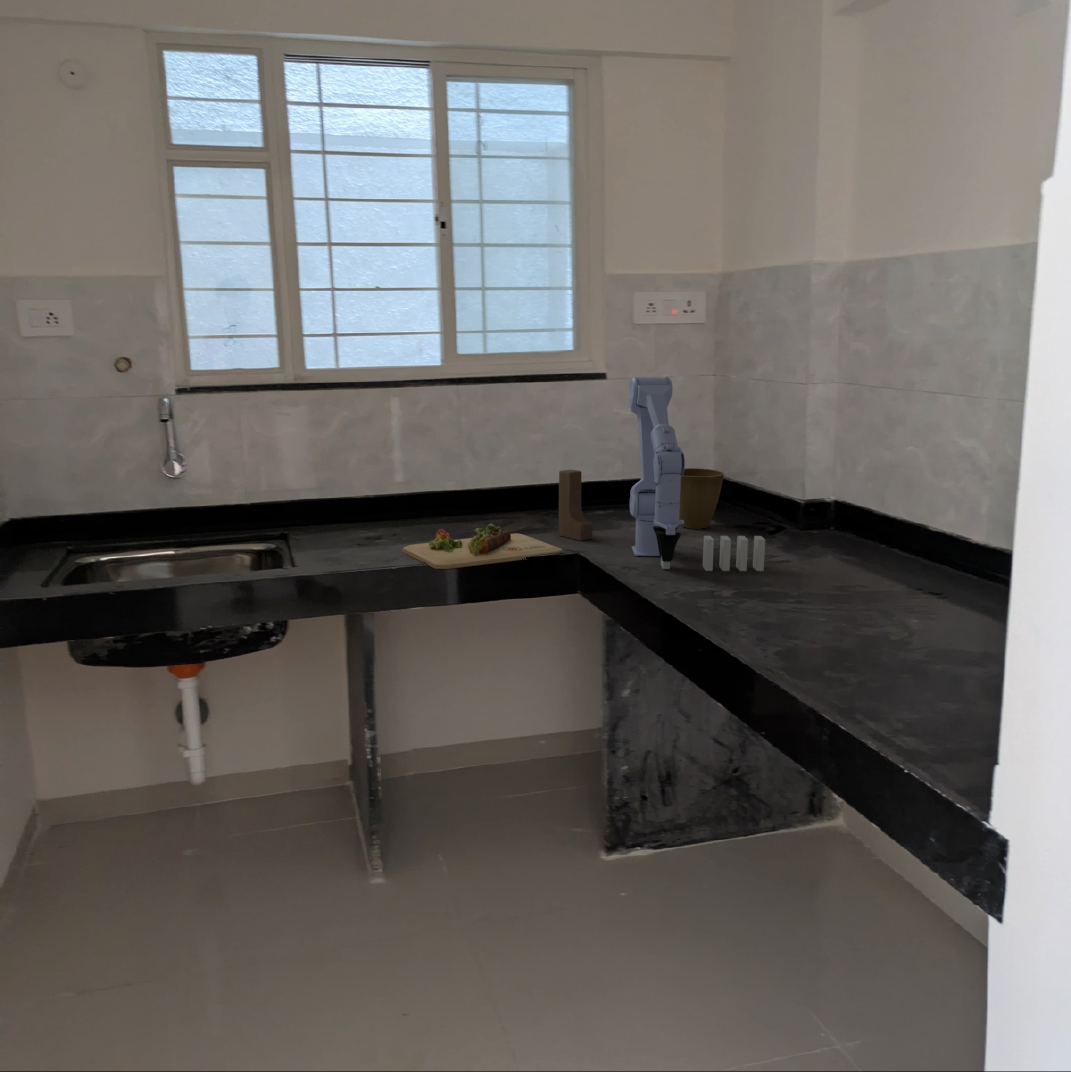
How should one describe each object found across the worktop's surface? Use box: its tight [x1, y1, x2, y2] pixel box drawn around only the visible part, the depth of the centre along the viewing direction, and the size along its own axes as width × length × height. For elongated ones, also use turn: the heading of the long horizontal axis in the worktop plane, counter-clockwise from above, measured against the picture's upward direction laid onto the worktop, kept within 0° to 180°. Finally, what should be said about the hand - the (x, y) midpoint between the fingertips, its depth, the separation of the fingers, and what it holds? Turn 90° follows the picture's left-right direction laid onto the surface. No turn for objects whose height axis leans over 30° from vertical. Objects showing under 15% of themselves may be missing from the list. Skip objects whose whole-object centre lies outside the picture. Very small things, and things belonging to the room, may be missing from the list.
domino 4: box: [735, 535, 749, 572], centre depth 232 cm, size 4×2×8 cm, turn 0°
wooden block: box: [558, 469, 593, 542], centre depth 265 cm, size 9×4×18 cm, turn 41°
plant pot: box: [679, 467, 725, 530], centre depth 280 cm, size 15×15×16 cm
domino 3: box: [718, 535, 732, 572], centre depth 232 cm, size 4×2×8 cm, turn 0°
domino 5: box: [752, 535, 766, 572], centre depth 232 cm, size 4×2×8 cm, turn 0°
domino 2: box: [702, 535, 715, 572], centre depth 232 cm, size 4×2×8 cm, turn 0°
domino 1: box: [660, 556, 671, 570], centre depth 232 cm, size 4×2×8 cm, turn 0°
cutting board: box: [401, 523, 563, 570], centre depth 248 cm, size 35×23×8 cm
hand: (665, 558), depth 233 cm, fingers closed on domino 1, 4 cm apart
